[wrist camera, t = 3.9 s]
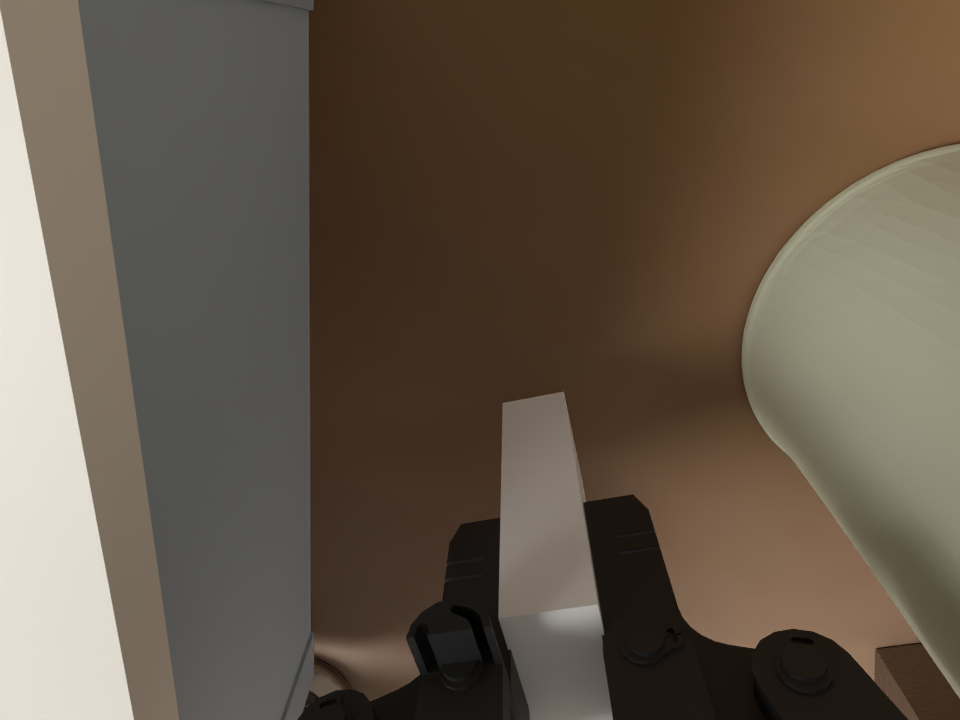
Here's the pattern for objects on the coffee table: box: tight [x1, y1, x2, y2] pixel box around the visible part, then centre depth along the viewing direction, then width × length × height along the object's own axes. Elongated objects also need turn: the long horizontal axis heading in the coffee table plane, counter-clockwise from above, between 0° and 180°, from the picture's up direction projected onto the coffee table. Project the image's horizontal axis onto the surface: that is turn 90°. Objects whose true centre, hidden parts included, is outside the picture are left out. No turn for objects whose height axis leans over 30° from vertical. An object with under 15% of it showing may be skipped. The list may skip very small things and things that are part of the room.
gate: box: [0, 0, 314, 720], centre depth 12 cm, size 22×2×9 cm, turn 173°
